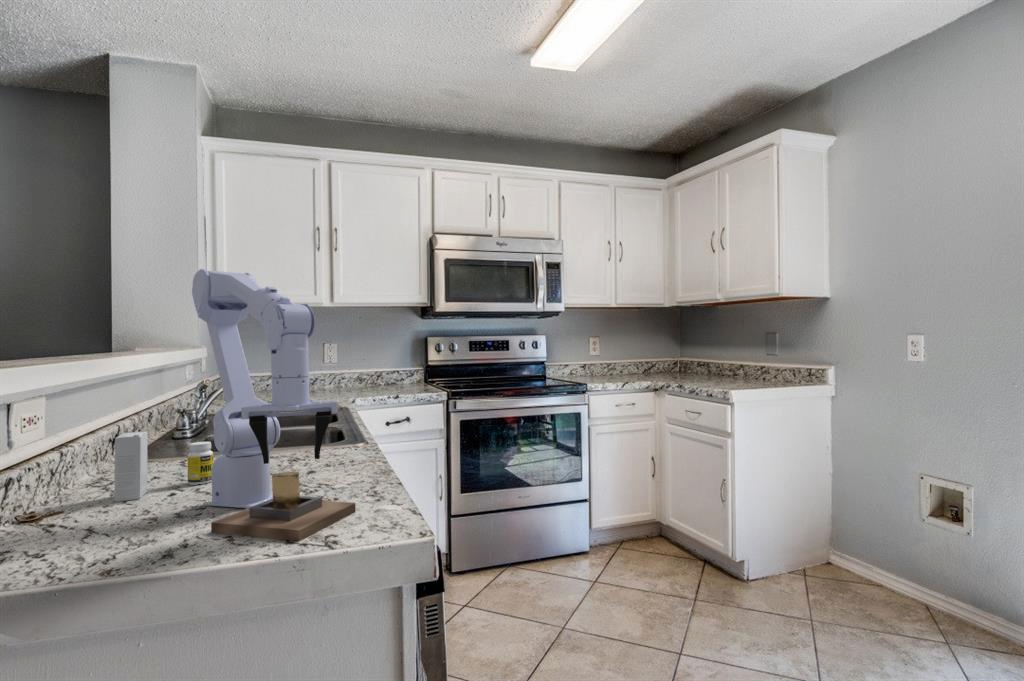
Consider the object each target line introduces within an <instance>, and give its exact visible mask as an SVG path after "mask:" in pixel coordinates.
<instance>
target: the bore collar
mask: <svg viewBox="0 0 1024 681" xmlns="http://www.w3.org/2000/svg"><path fill="white" fill-rule="evenodd" d="M322 501H323V498H322V497H319V496H316V497H315V496H304V495H303V496H302V495H300V505H297V506H295V507H293V508H290V509H283V508H273V499H272V500H269V501H267V502H264V503H262V504H259V505H256V506H254V507H251V508H249V516H250V518H257V519H269V520H281V521H292V520H294V519H296V518H299V517H301V516H303V515H305V514H307V513H310V512H312V511H314V510H316V509H318V508H321V507H322Z"/></svg>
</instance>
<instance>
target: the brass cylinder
mask: <svg viewBox="0 0 1024 681" xmlns="http://www.w3.org/2000/svg"><path fill="white" fill-rule="evenodd" d="M271 482H272V483H271V484H272V486H271V487H272V489H271V490H272V494H273V508H283V509H290V508H293V507H295V506H297V505H300V496H301V492H300V491H301V490H300V472H299V471H284V472H282V471H281V472H278V473H275V474H274V473H273V474H272V476H271Z"/></svg>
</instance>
